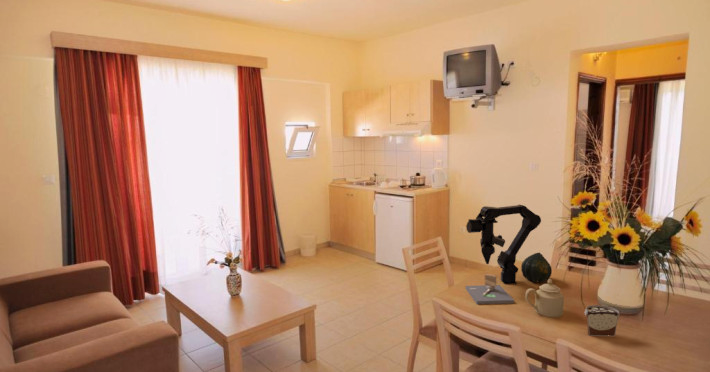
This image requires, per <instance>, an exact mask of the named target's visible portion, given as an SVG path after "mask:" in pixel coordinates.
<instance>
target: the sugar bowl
mask: <svg viewBox="0 0 710 372" xmlns="http://www.w3.org/2000/svg"><path fill="white" fill-rule="evenodd" d="M546 281H547V283H543V284H542V285H539V287H538V288H539V289H534V288H531V287H530V288H528V289H526V291H525V295H524V296H525V300H526V302H527V303H528V304H529V305H530V306H531V307H533V308H534V311H535V312H536V314H538V315H540V316H543V317H546V318H560V317H563V313H564V302H565V301H564V297H565V296H564V294H563V293H562V292H561V288H560V287H558V286H557V285H555V284H553V280H552V278H549V279H547V280H546ZM530 292H533V293H534V297H535V298H534V304H533V303H532V302H531V301H530V298H529V294H530Z"/></svg>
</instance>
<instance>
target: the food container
mask: <svg viewBox="0 0 710 372" xmlns="http://www.w3.org/2000/svg"><path fill="white" fill-rule="evenodd" d="M584 316H586V325H587V329H586V330H587V335H588V336H589V337H590V336H591V337H615V336H616V331H617V325H618V320H619V317H621V313H620V310H618V309H616V308H614V307H610V306H607V305H600V304H592V305H588V306H587V307H585V309H584ZM608 335H609V336H608Z"/></svg>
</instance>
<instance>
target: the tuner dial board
mask: <svg viewBox="0 0 710 372" xmlns="http://www.w3.org/2000/svg"><path fill="white" fill-rule="evenodd" d="M465 290H466V292H468V294H469V295H470V297H471V298H472V300H473V301H474V302H475V304H476V305H491V304H492V305H497V304H514V303H515V299H514V298H513V297H512V296H511V295H510V294H509V293H508V292H507V291H506V290H505V289H504V287H502V286H501V285H500V284H496V287H495V290H494V291H489V292H488V293H486V294H485V295H483V294H484V293H485V292H486V291H487V289H486V285H485V284H484V285H483V284H482V285H465Z"/></svg>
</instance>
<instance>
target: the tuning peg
mask: <svg viewBox="0 0 710 372" xmlns="http://www.w3.org/2000/svg"><path fill="white" fill-rule="evenodd" d="M484 285H486V289H487V291H486V292H485V293H484V294H483V295H485V294H486V293H488V292H489V291H494V290H495V287H496V285H497V275H494V274H488V273H486V274H484Z"/></svg>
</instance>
